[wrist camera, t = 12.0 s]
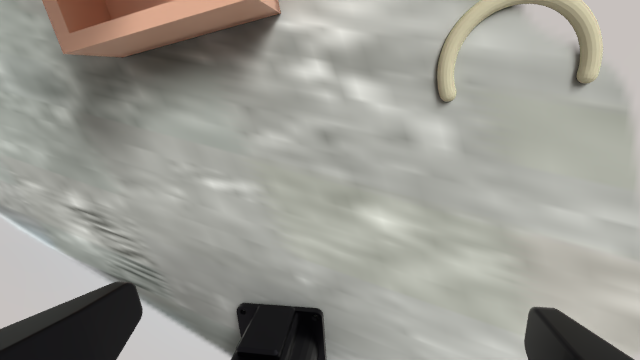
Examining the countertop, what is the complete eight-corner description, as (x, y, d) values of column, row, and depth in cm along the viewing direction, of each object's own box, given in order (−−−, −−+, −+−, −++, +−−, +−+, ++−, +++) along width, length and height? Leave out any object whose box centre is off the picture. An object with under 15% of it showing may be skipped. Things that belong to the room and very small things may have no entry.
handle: (615, -36, 14) (603, 82, 16) (603, -31, 15) (593, 81, 16) (435, 0, 16) (439, 103, 17) (432, 3, 17) (437, 102, 18)
